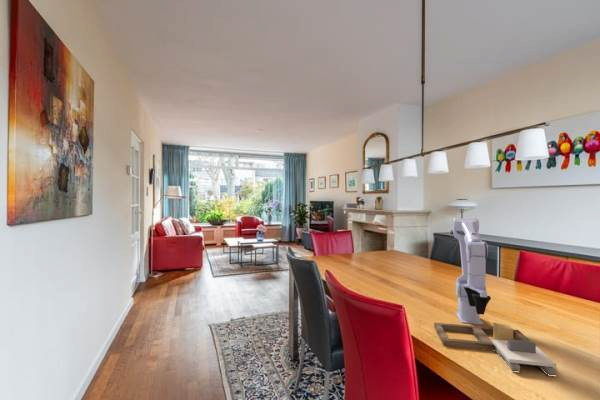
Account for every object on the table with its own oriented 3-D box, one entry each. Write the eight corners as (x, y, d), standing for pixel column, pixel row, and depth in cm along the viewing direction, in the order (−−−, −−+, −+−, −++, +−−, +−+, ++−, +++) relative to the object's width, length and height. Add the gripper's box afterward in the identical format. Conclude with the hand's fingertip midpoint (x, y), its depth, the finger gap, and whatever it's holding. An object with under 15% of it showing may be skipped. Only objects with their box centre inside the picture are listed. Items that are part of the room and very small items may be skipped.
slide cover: (492, 342, 98) (492, 330, 98) (532, 346, 95) (532, 334, 95) (508, 362, 86) (508, 349, 86) (555, 367, 83) (556, 353, 83)
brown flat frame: (434, 327, 114) (434, 322, 114) (518, 335, 107) (518, 329, 107) (453, 365, 89) (453, 358, 89) (564, 378, 82) (564, 371, 82)
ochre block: (493, 338, 105) (493, 322, 105) (507, 340, 104) (507, 323, 104) (498, 344, 101) (498, 327, 101) (513, 346, 100) (513, 329, 100)
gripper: (458, 268, 116) (458, 302, 116) (471, 278, 101) (471, 316, 102) (478, 269, 114) (478, 303, 114) (493, 279, 100) (493, 318, 100)
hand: (476, 309), depth 108 cm, fingers open, 7 cm apart
